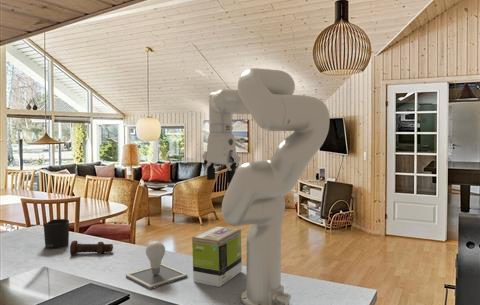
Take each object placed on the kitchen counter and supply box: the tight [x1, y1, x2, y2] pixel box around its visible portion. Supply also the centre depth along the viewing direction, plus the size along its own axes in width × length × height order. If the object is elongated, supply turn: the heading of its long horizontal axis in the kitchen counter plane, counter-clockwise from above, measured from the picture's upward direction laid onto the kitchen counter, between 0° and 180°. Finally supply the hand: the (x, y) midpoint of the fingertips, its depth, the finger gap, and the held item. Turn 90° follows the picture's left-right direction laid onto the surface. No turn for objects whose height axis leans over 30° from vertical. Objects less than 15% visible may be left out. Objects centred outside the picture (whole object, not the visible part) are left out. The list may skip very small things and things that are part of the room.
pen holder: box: [43, 218, 70, 250], centre depth 162 cm, size 9×9×10 cm
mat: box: [125, 263, 188, 290], centre depth 129 cm, size 14×14×1 cm
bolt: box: [69, 240, 114, 256], centre depth 153 cm, size 6×5×15 cm
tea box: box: [191, 225, 243, 288], centre depth 128 cm, size 15×10×15 cm, turn 152°
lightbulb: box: [145, 240, 166, 275], centre depth 128 cm, size 6×6×11 cm
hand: (220, 181), depth 133 cm, fingers open, 9 cm apart
